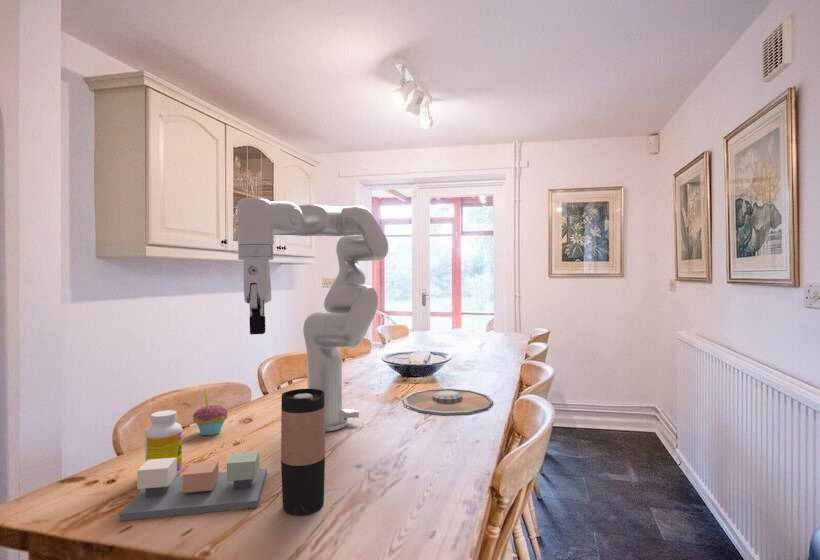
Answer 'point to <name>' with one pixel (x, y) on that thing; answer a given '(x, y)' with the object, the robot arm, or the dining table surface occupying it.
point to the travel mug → (303, 451)
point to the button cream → (156, 473)
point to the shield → (447, 401)
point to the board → (195, 498)
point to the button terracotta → (200, 477)
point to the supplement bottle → (164, 438)
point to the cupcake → (210, 418)
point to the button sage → (242, 466)
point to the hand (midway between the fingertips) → (257, 333)
